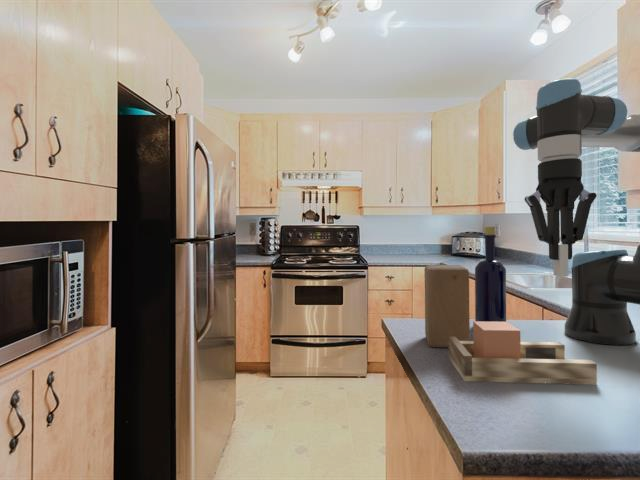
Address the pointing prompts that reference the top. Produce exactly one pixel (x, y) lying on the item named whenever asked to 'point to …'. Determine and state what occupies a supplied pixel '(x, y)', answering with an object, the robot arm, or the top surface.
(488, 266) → the bottle
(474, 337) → the terracotta block
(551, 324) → the top surface
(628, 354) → the top surface
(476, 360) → the wooden tray
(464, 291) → the wooden block
